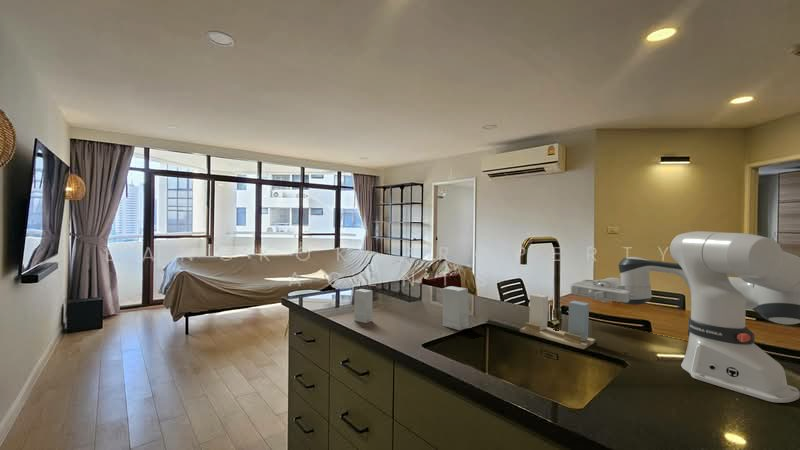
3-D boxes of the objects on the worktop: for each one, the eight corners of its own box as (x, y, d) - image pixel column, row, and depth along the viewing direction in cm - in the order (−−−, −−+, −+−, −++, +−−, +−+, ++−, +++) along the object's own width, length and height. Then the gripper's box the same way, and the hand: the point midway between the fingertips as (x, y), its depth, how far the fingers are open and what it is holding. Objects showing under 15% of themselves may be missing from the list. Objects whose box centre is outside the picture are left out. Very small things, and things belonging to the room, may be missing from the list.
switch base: (533, 326, 135) (533, 317, 135) (595, 342, 119) (595, 332, 118) (519, 331, 128) (520, 322, 128) (583, 349, 111) (584, 338, 111)
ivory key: (534, 325, 132) (535, 293, 132) (547, 328, 128) (548, 295, 128) (529, 327, 129) (530, 294, 129) (542, 330, 125) (543, 297, 125)
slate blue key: (572, 334, 122) (573, 300, 121) (587, 338, 118) (589, 303, 118) (567, 337, 119) (569, 302, 119) (583, 341, 115) (584, 305, 115)
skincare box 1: (372, 320, 136) (373, 290, 136) (365, 323, 133) (366, 292, 132) (360, 318, 139) (361, 288, 139) (353, 320, 136) (354, 290, 136)
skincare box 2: (468, 328, 130) (469, 288, 130) (458, 331, 126) (460, 290, 126) (450, 322, 136) (451, 285, 136) (440, 325, 132) (442, 286, 132)
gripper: (635, 303, 131) (624, 309, 122) (578, 294, 146) (564, 298, 137) (635, 287, 131) (624, 291, 122) (578, 279, 146) (565, 282, 137)
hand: (592, 294), depth 129 cm, fingers closed
